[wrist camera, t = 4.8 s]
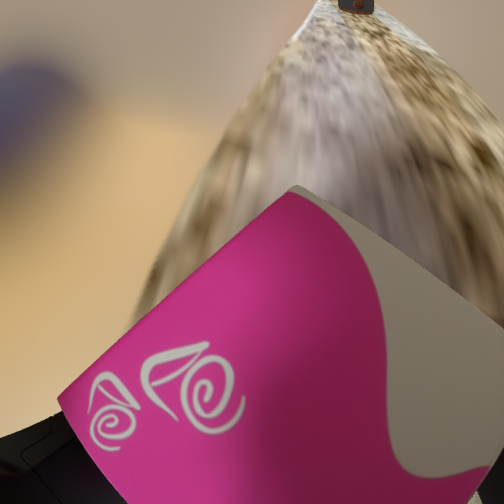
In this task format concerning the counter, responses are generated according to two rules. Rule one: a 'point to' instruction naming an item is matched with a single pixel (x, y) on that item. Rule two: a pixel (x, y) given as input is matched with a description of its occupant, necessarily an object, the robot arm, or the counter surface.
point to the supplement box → (298, 376)
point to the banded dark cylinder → (357, 6)
